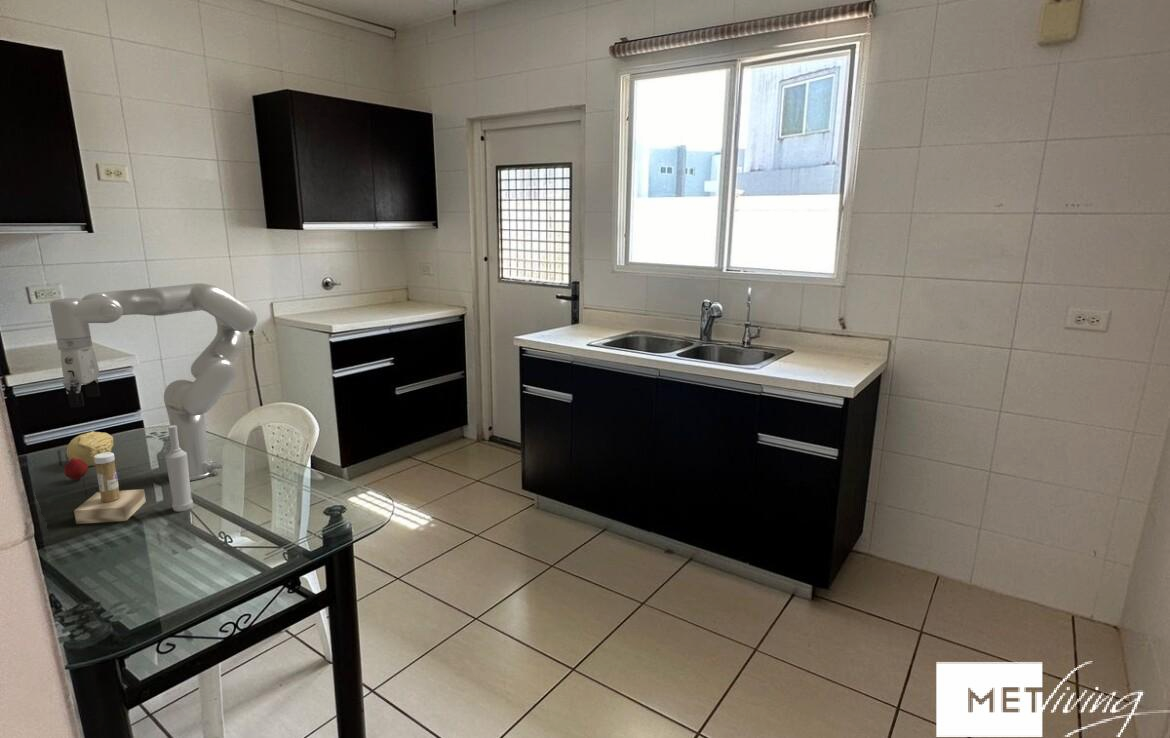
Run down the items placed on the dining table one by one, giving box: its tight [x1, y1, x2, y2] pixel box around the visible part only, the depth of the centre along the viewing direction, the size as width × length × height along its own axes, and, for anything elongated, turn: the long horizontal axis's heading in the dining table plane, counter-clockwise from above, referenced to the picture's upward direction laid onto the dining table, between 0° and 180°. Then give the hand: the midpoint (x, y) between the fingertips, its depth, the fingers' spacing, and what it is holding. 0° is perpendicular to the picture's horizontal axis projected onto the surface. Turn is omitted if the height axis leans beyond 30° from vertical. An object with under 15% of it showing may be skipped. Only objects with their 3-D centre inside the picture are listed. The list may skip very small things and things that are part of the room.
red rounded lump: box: [63, 456, 89, 481], centre depth 195 cm, size 6×6×8 cm
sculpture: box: [66, 430, 114, 467], centre depth 208 cm, size 11×12×11 cm
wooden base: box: [73, 488, 147, 525], centre depth 176 cm, size 12×12×4 cm
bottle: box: [164, 425, 194, 513], centre depth 177 cm, size 5×5×25 cm
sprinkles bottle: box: [94, 451, 120, 502], centre depth 174 cm, size 5×5×14 cm
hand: (85, 401), depth 177 cm, fingers open, 9 cm apart
